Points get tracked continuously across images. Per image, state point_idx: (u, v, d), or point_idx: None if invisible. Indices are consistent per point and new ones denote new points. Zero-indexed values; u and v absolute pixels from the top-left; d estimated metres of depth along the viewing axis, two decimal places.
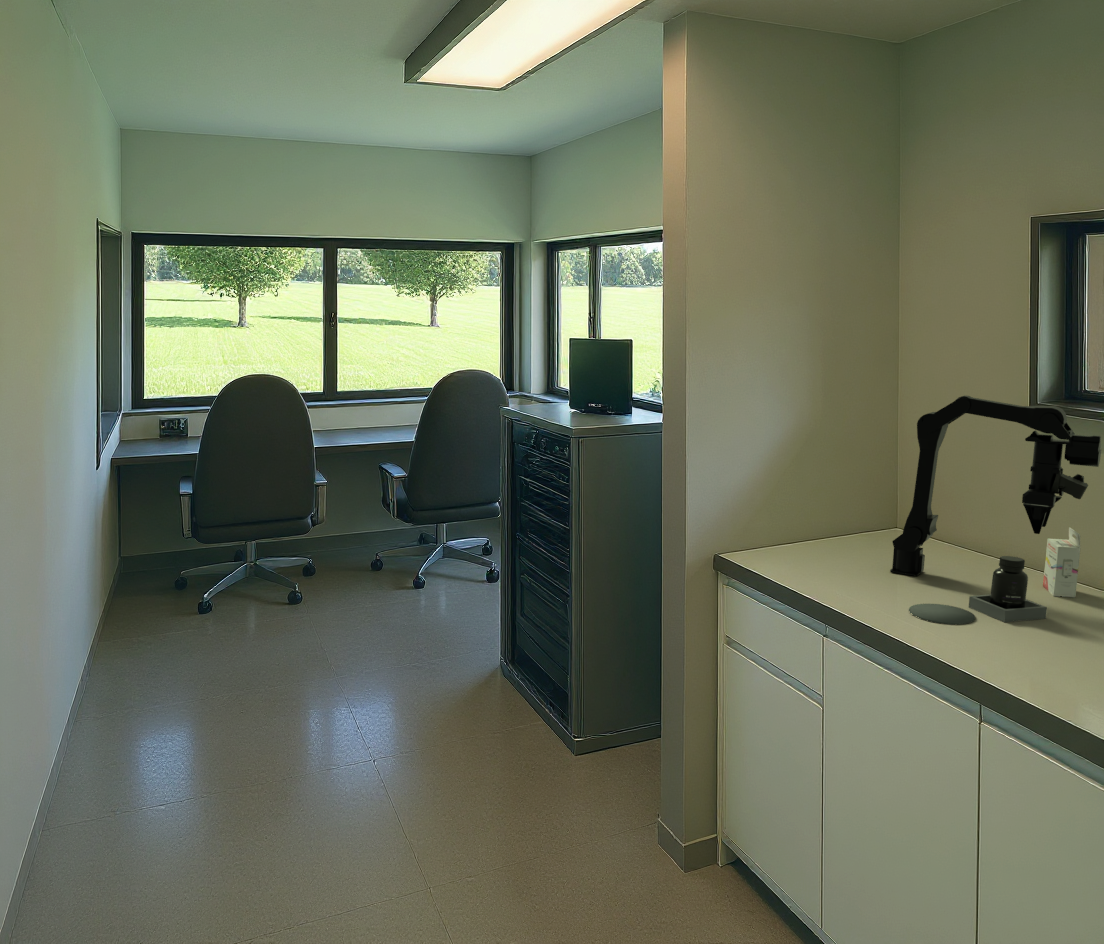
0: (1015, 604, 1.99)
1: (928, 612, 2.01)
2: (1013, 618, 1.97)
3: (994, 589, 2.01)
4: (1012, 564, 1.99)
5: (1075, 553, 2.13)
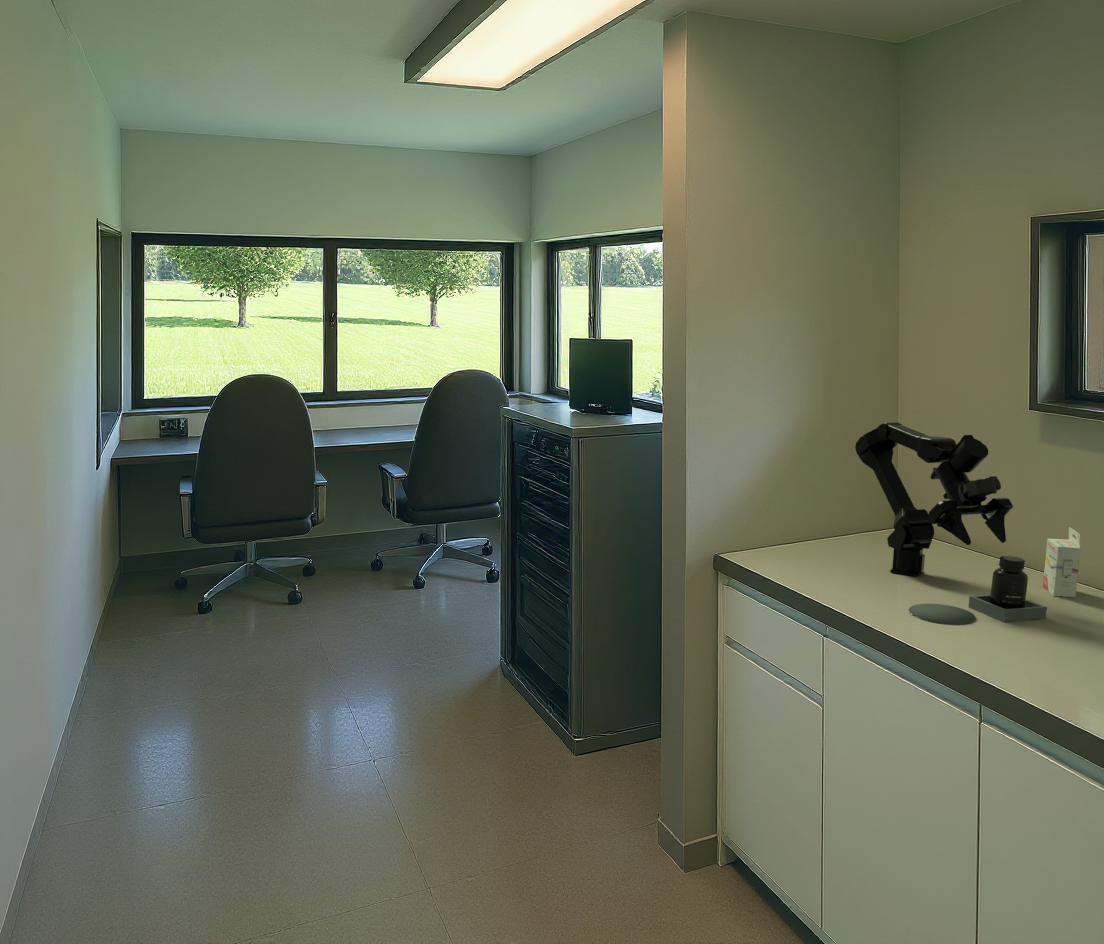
0: (1015, 604, 1.99)
1: (928, 612, 2.01)
2: (1013, 618, 1.97)
3: (994, 589, 2.01)
4: (1012, 564, 1.99)
5: (1075, 553, 2.13)
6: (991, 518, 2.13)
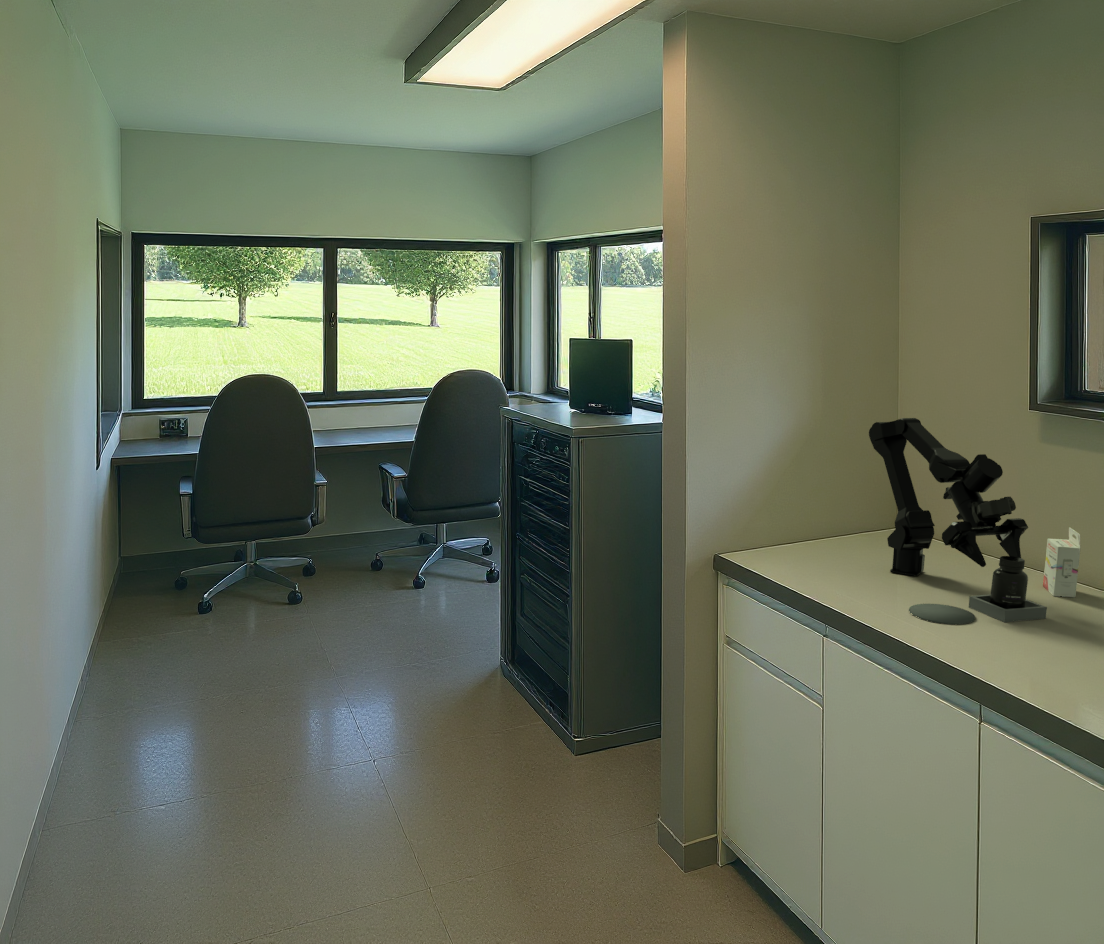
0: (1015, 604, 1.99)
1: (928, 612, 2.01)
2: (1013, 618, 1.97)
3: (994, 589, 2.01)
4: (1012, 564, 1.99)
5: (1075, 553, 2.13)
6: (1006, 539, 2.09)
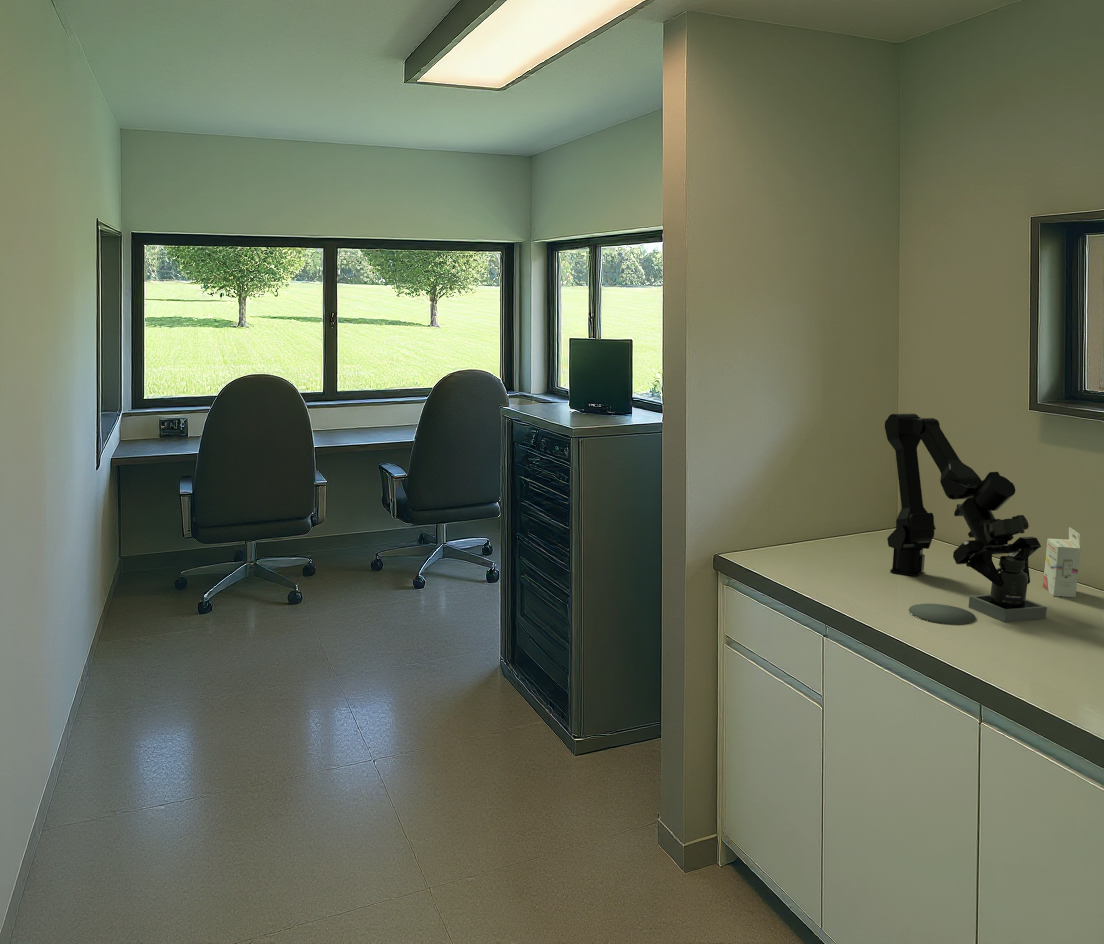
0: (1015, 603, 1.99)
1: (928, 612, 2.01)
2: (1013, 618, 1.97)
3: (994, 589, 2.01)
4: (1012, 564, 1.99)
5: (1075, 553, 2.13)
6: None
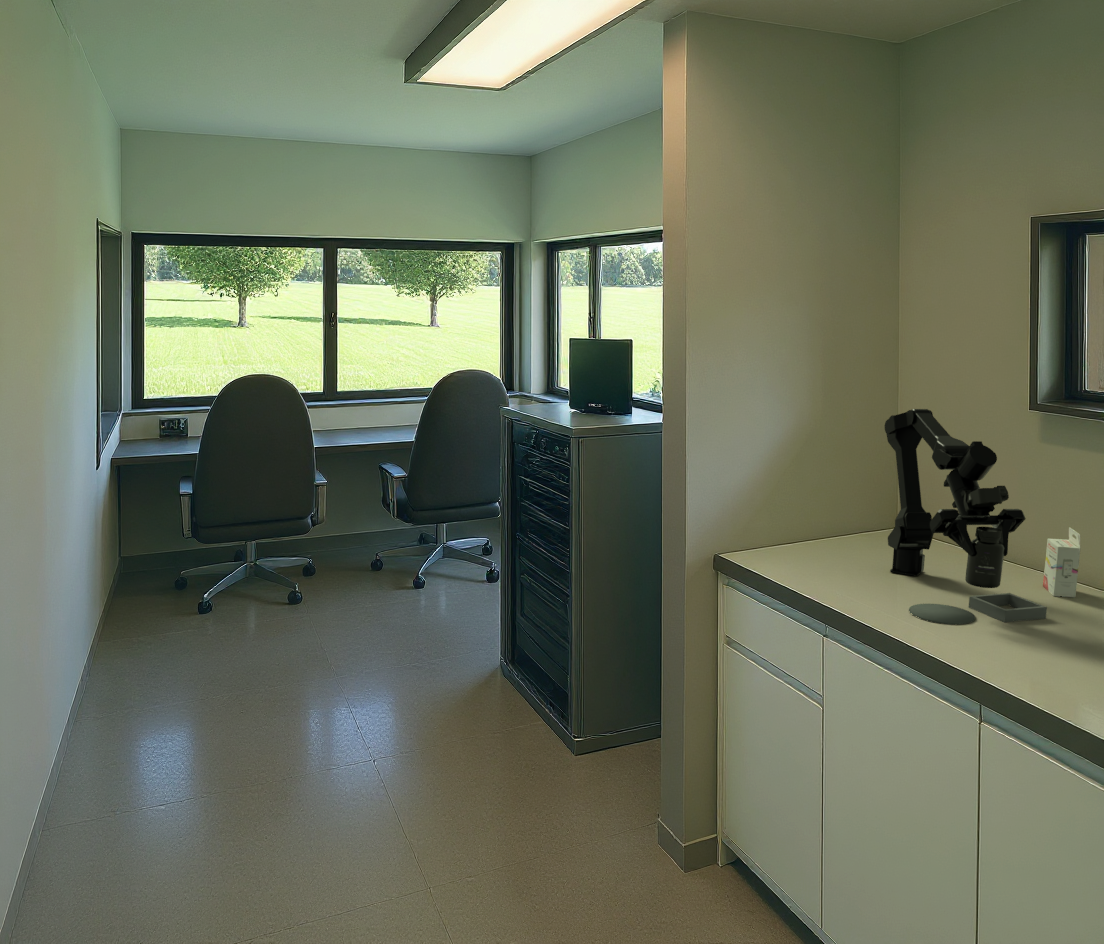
0: (988, 574, 1.96)
1: (928, 612, 2.01)
2: (1013, 618, 1.97)
3: (968, 559, 1.99)
4: (985, 534, 1.96)
5: (1075, 553, 2.13)
6: None
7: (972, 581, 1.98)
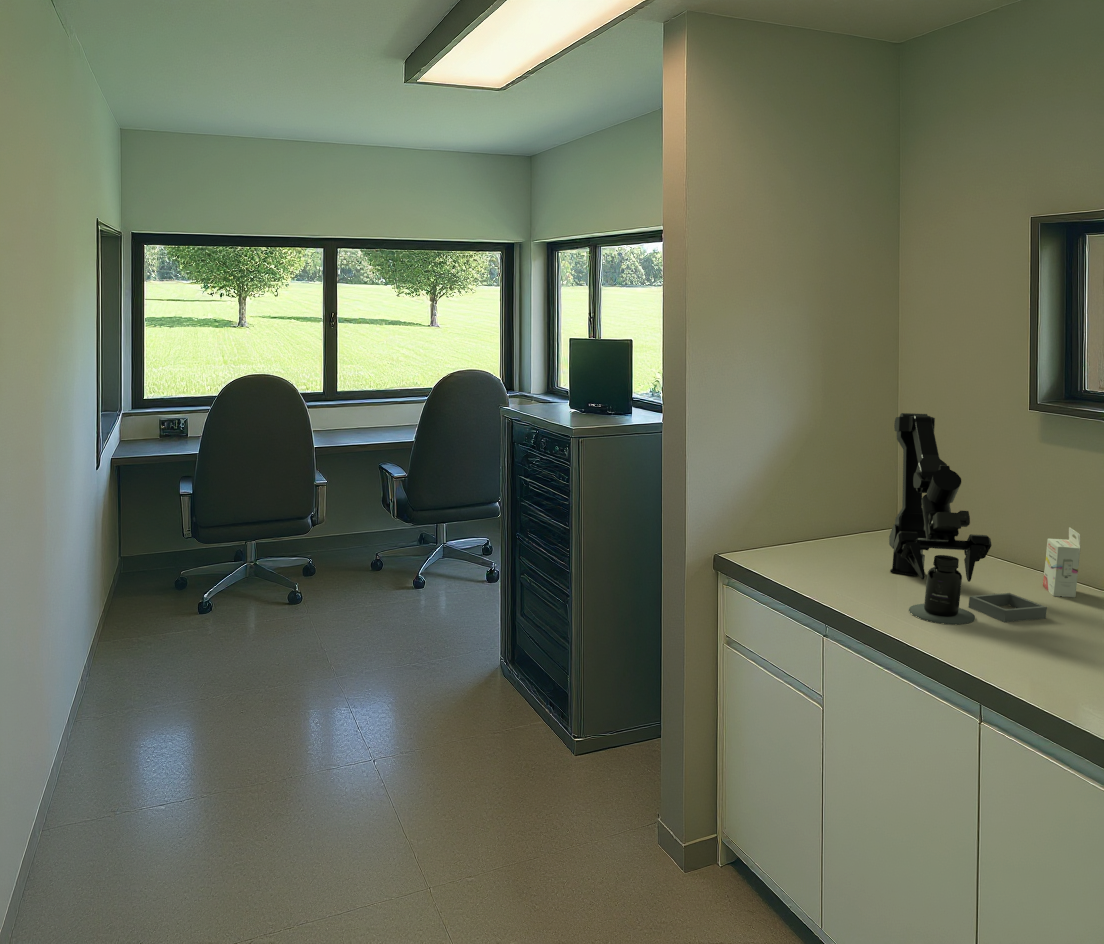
0: (941, 603, 1.97)
1: None
2: (1013, 618, 1.97)
3: (926, 587, 2.01)
4: (940, 563, 1.98)
5: (1075, 553, 2.13)
6: (967, 555, 2.02)
7: (927, 608, 2.00)
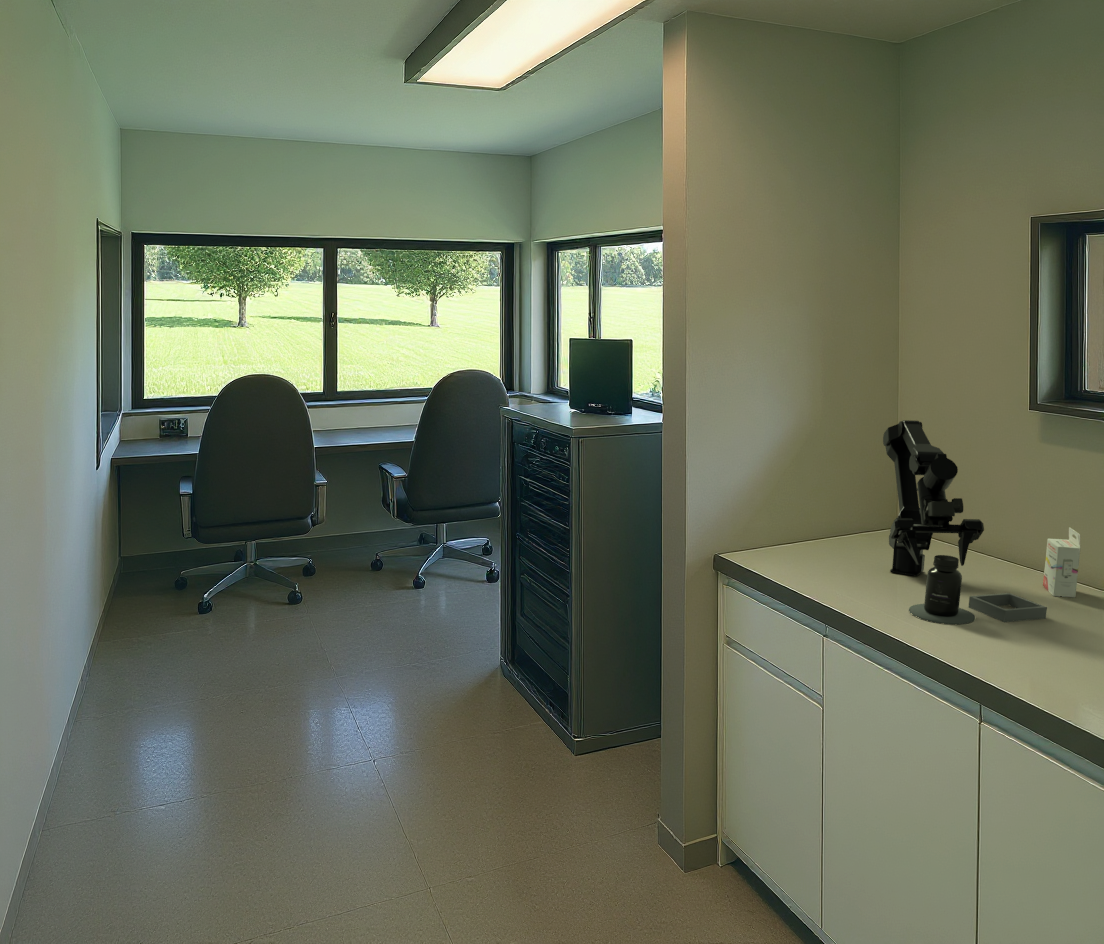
0: (941, 603, 1.97)
1: None
2: (1013, 618, 1.97)
3: (926, 587, 2.01)
4: (940, 563, 1.98)
5: (1075, 553, 2.13)
6: (960, 539, 2.10)
7: (927, 608, 2.00)
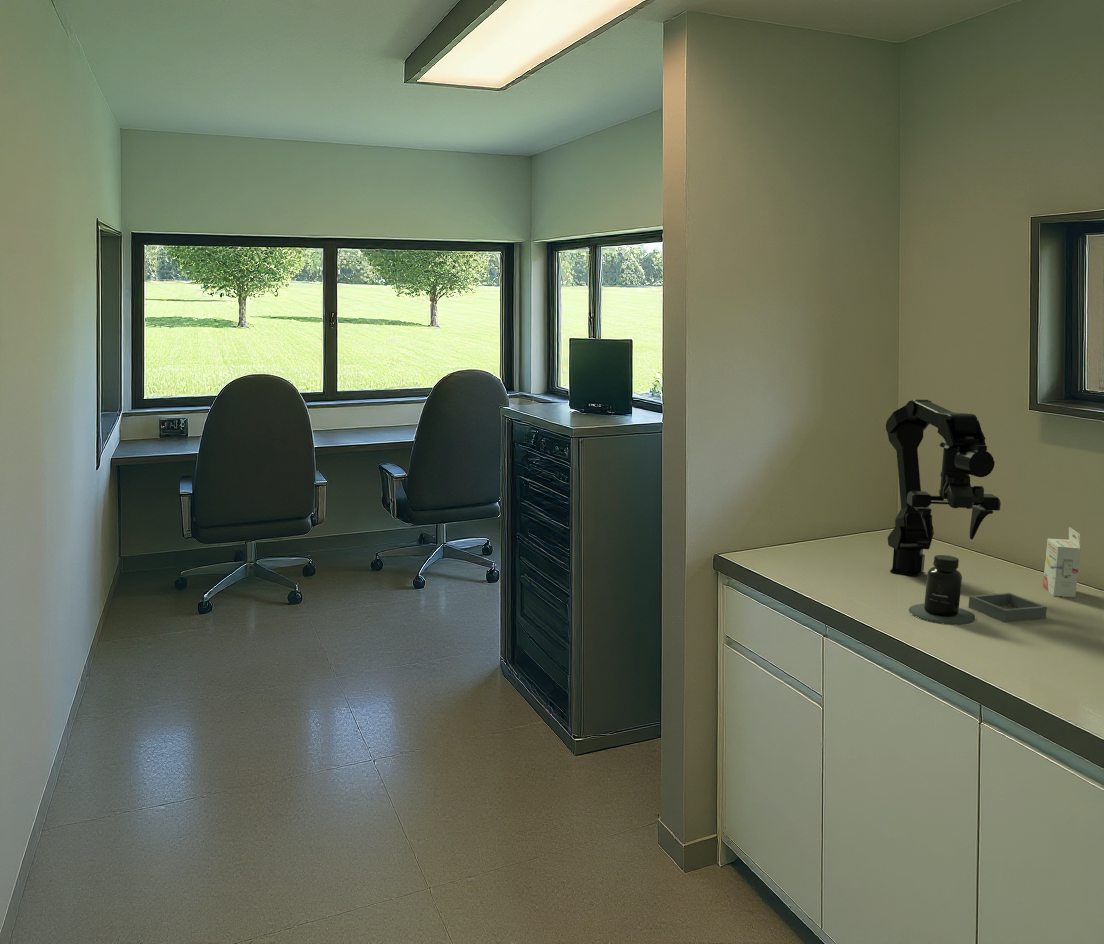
0: (941, 603, 1.97)
1: None
2: (1013, 618, 1.97)
3: (926, 587, 2.01)
4: (940, 563, 1.98)
5: (1075, 553, 2.13)
6: (975, 510, 2.13)
7: (927, 608, 2.00)
